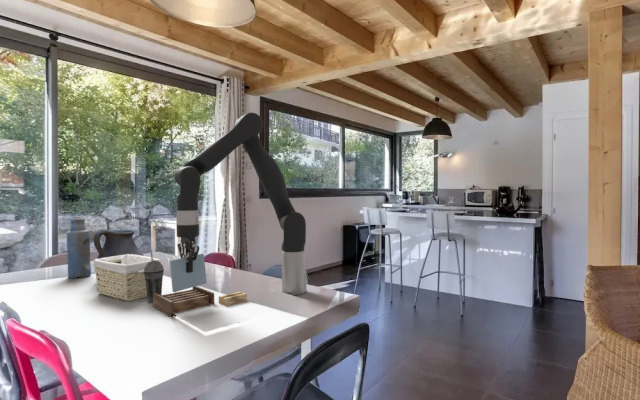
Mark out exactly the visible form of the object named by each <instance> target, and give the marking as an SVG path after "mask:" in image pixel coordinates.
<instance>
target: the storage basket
mask: <svg viewBox="0 0 640 400" xmlns="http://www.w3.org/2000/svg"><path fill="white" fill-rule="evenodd" d="M154 260H156V261H159V262H160V263H161V264H162V262H161V259H160V258H156V257H153V261H154ZM150 261H152V260H151V256H146V255H144V256H140V255H133V254H131V255H130V254H126V255H119V256H112V257H105V258H100V259H97V258H95V259H93V267H94V272H95V278H96V287H97V293H99V294H100V295H104V296H106V297H110V298H114V299H117V300H121V301H126V302H131V301H134V300H138V299H142V298H146V297H147V290H146V281H145V276H144V273H143V272H144V267H145V265H146V264H147V263H148V262H150ZM114 262H115V263H114ZM116 262H121V264H118V263H116Z"/></svg>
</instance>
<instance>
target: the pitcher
mask: <svg viewBox="0 0 640 400" xmlns="http://www.w3.org/2000/svg"><path fill="white" fill-rule="evenodd" d="M135 232H136V230H134V229H106V228H102V229H98V230H97V231H96V232H95V233H94V235H93V245H94V247H95V249H96V251H97V253H98V255H97V257H96V259H100V258H105V257H112V256H119V255H126V254H130V255H131V254H133V255H140V256H145V255H144V253H143V252H142V251H141V249H139V248H138V246H137V244H136V242H135V240H134V237H133V236H134V234H135ZM102 236H105V240H104V244H103V246H102V245H101V237H102ZM114 263H115V262H114ZM116 263H118V264H121V262H116Z"/></svg>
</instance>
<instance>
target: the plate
mask: <svg viewBox="0 0 640 400" xmlns="http://www.w3.org/2000/svg"><path fill="white" fill-rule="evenodd" d="M188 257H189V256H188ZM205 263H206V262H205V254H204V253H198V255H197V258H196V260H194V261H193V272H191V273H187V272H186V257H183V258H181V257H179V258H175V259H170V260H169V269H170V270H169V271H170V278H171V287H172V288H171V289H172V293H176V292H181V291H185V290H189V289H193V287H195V286H198V287H200V286H202V285H205V284H207V283H208V282H207V274H206V273H207V271H206V265H205Z"/></svg>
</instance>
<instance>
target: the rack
mask: <svg viewBox="0 0 640 400" xmlns="http://www.w3.org/2000/svg"><path fill="white" fill-rule="evenodd" d="M212 305H215V292H213V291H210V290H208V289H205V288H203V287H201V286H195V287H192V288H190V289H185V290H181V291H177V292H172V293H166V294H161V295H159V294H157V293H153V304H152V307H153V308H154V309H156V310H158V311H160V312H162V313H163V314H165V315H167V316H168V317H170V318H173V317H177V314H179V313H183V312H187V311H190V310H195V309H198V308H199V309H200V308H203V307H204V308H205V307H208V306H212Z"/></svg>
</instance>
